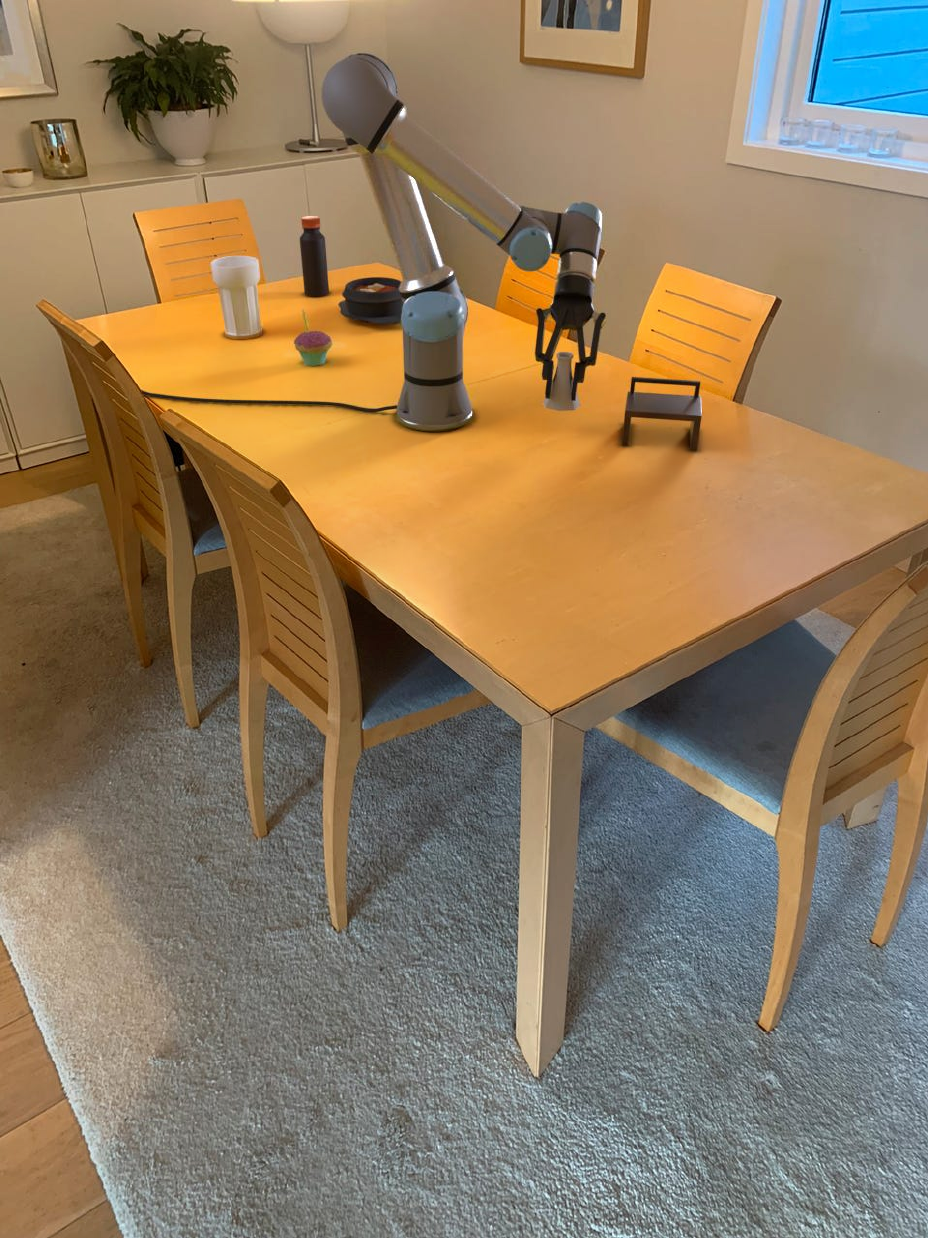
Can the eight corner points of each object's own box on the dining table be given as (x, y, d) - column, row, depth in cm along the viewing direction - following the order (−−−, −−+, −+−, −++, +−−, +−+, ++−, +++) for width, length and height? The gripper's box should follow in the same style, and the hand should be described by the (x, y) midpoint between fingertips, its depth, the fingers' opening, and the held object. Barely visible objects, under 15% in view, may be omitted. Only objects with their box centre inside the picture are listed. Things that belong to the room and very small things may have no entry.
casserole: (432, 323, 247) (431, 289, 242) (369, 336, 238) (367, 301, 233) (383, 299, 264) (381, 268, 259) (322, 311, 255) (319, 278, 250)
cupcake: (289, 365, 220) (283, 313, 214) (308, 354, 227) (303, 302, 220) (322, 370, 218) (317, 317, 211) (340, 358, 224) (336, 306, 217)
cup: (276, 331, 241) (268, 259, 231) (245, 343, 233) (235, 269, 224) (242, 323, 246) (233, 253, 236) (211, 335, 238) (200, 263, 229)
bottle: (301, 296, 266) (294, 219, 255) (308, 289, 272) (302, 214, 261) (325, 297, 266) (319, 220, 254) (332, 290, 271) (326, 215, 260)
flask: (578, 413, 182) (582, 362, 177) (540, 410, 184) (543, 359, 178) (581, 399, 188) (586, 349, 183) (545, 396, 189) (548, 346, 184)
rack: (621, 445, 183) (626, 395, 178) (624, 425, 192) (629, 376, 186) (696, 451, 181) (703, 400, 176) (696, 430, 189) (703, 381, 184)
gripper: (619, 296, 188) (606, 408, 183) (531, 290, 190) (516, 401, 186) (621, 275, 180) (606, 391, 176) (529, 269, 183) (513, 384, 179)
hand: (560, 396), depth 181 cm, fingers closed on flask, 4 cm apart
